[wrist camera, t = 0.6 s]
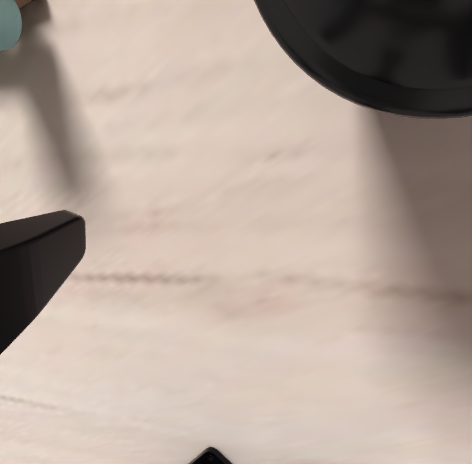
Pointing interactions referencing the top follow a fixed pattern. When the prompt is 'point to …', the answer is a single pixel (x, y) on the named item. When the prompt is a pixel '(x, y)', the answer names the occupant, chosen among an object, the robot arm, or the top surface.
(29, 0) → the brown peg stand
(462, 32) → the drinking cup
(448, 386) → the top surface
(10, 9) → the hinged leg
